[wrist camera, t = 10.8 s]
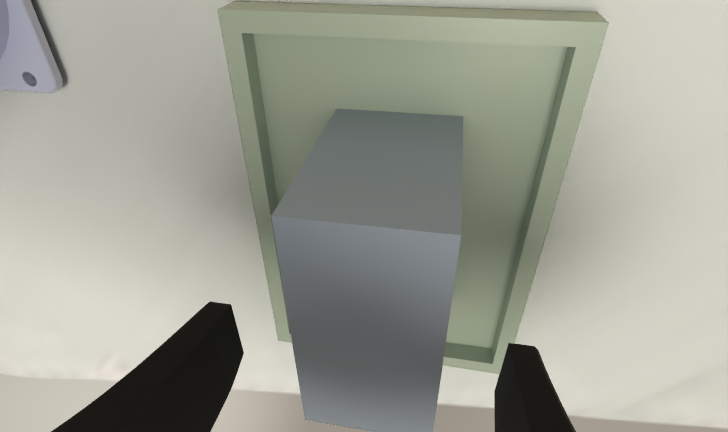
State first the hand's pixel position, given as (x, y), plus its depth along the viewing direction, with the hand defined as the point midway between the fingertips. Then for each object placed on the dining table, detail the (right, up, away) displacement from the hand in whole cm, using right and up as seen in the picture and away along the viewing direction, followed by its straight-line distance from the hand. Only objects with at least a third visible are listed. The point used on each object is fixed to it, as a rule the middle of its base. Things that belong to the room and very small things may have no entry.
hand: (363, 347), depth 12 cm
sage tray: (+1, +4, +5) cm, 6 cm away
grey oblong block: (+1, +3, +5) cm, 6 cm away
